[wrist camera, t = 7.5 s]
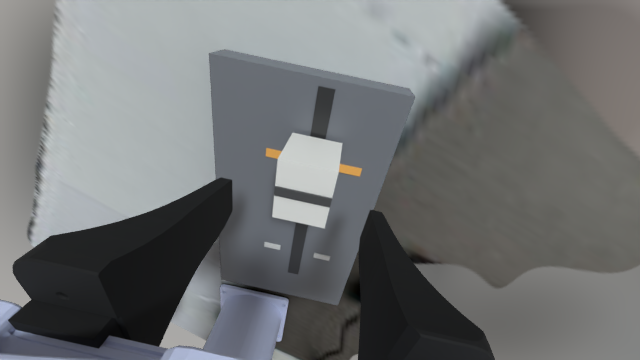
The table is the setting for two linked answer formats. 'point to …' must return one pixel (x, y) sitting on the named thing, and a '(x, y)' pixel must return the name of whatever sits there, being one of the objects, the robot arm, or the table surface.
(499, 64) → the table surface
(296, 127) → the slider fader panel
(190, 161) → the table surface
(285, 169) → the fader knob
